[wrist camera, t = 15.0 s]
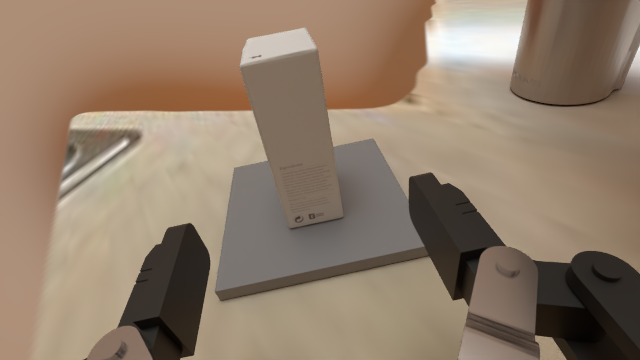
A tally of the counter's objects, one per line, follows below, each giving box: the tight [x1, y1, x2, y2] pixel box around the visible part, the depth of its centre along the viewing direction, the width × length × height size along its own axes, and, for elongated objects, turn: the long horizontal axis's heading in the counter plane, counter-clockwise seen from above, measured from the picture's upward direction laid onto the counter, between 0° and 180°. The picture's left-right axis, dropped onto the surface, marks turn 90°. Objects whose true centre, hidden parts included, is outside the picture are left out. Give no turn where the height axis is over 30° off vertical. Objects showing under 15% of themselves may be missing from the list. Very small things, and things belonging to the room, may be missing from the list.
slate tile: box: [215, 139, 429, 301], centre depth 26 cm, size 14×14×1 cm
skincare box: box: [240, 28, 343, 228], centre depth 22 cm, size 6×4×12 cm
